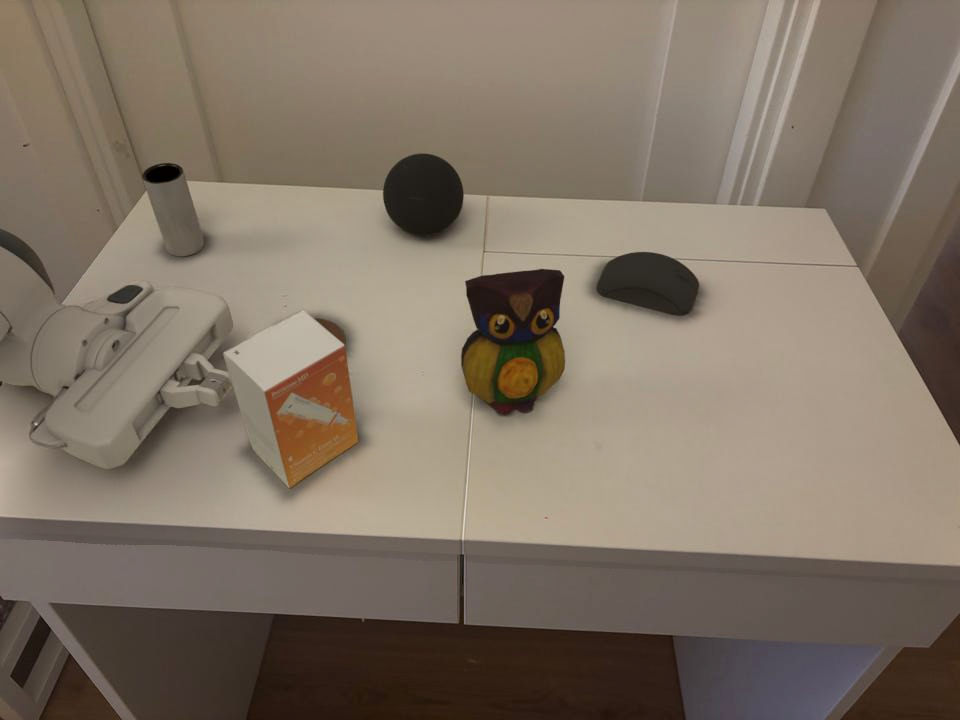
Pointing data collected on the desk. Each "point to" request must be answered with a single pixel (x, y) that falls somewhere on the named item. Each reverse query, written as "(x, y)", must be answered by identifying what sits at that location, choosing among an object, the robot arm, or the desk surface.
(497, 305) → the figurine
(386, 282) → the desk surface
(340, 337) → the coaster
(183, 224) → the grey cylinder
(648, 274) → the computer mouse
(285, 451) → the small box
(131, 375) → the robot arm
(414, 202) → the speaker
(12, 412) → the desk surface
